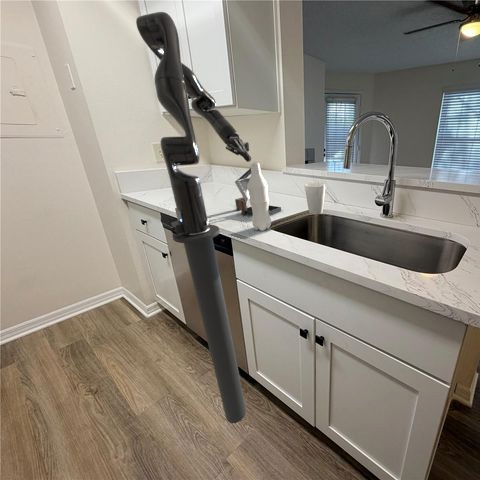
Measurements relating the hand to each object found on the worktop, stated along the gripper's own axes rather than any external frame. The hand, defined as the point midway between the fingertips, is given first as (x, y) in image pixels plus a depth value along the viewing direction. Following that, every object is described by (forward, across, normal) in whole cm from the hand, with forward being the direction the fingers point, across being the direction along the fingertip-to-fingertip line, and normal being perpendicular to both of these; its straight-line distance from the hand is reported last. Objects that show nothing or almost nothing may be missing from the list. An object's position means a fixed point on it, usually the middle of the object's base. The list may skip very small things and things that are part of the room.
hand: (249, 160), depth 116 cm
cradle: (+12, 0, -21) cm, 24 cm away
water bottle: (+31, +17, -3) cm, 35 cm away
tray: (+20, 0, -14) cm, 24 cm away
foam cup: (+36, -11, +2) cm, 38 cm away
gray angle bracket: (+7, 0, -13) cm, 14 cm away
